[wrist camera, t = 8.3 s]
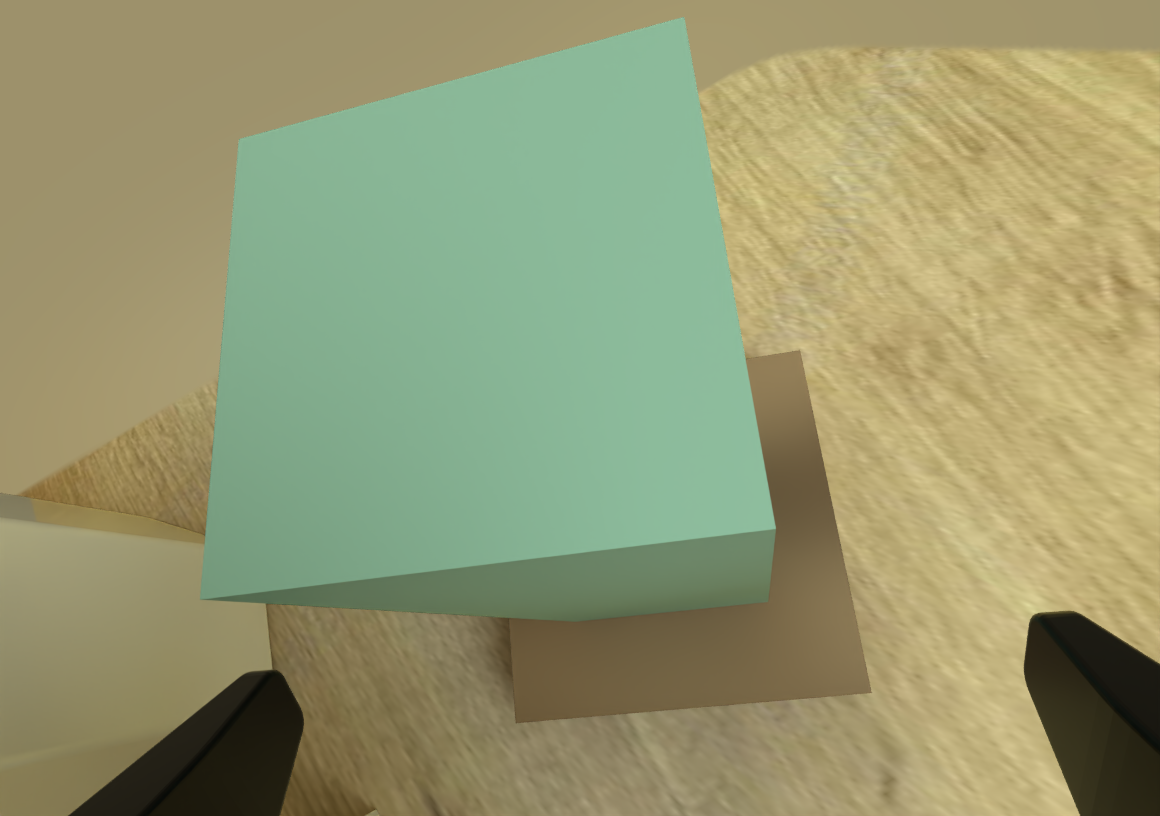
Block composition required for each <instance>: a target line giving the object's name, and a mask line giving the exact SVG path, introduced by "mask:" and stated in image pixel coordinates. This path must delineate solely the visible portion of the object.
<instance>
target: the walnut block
mask: <svg viewBox="0 0 1160 816" xmlns="http://www.w3.org/2000/svg"><path fill="white" fill-rule="evenodd" d="M746 365H747V370H748V376H749V381H750V387H751V393H752V398H753V404H754V409H755V415H756V420H757V426H758V432H759V437H760V443H761V448H762V454H763V460H764V465H765V471H766V476H767V482H768V487H769V493H770V499H771V504H772V510H773V515H774V521H775V526H776V533H775V542H774V552H773V561H772V570H771V580H770V589H769V599H768V602H763V603H753V604H743V605H733V606H724V607H714V608H704V609H694V610H685V611H675V612H665V613H655V614H646V615H636V616H626V617H616V618H607V619H597V620H587V621H577V622H571V621H554V620H537V619H520V618H509V630H510V645H511V660H512V675H513V690H514V705H515V720H516V723H521V722H533V721H545V720H557V719H569V718H580V717H592V716H604V715H616V714H628V713H639V712H651V711H663V710H675V709H687V708H698V707H710V706H722V705H734V704H746V703H757V702H769V701H781V700H793V699H805V698H816V697H828V696H840V695H852V694H864V693H872V692H871V687H870V683H869V678H868V673H867V668H866V664H865V659H864V654H863V649H862V644H861V640H860V635H859V630H858V625H857V621H856V616H855V611H854V606H853V601H852V597H851V592H850V587H849V582H848V578H847V573H846V568H845V563H844V558H843V554H842V549H841V544H840V539H839V535H838V530H837V525H836V520H835V515H834V511H833V506H832V501H831V496H830V492H829V487H828V482H827V477H826V472H825V468H824V463H823V458H822V453H821V449H820V444H819V439H818V434H817V429H816V425H815V420H814V415H813V410H812V406H811V401H810V396H809V391H808V386H807V382H806V377H805V372H804V367H803V363H802V358H801V353H800V350H799V351H792V352H786V353H780V354H774V355H768V356H762V357H755V358H749V359H746Z"/></svg>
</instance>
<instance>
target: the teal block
mask: <svg viewBox="0 0 1160 816" xmlns="http://www.w3.org/2000/svg"><path fill="white" fill-rule="evenodd" d="M775 533H776V526H775V521H774V515H773V510H772V504H771V499H770V493H769V487H768V482H767V476H766V471H765V465H764V460H763V454H762V448H761V443H760V437H759V432H758V426H757V420H756V415H755V409H754V404H753V398H752V393H751V387H750V381H749V376H748V370H747V365H746V359H745V354H744V348H743V342H742V337H741V331H740V326H739V320H738V315H737V309H736V303H735V298H734V292H733V287H732V281H731V275H730V270H729V264H728V259H727V253H726V248H725V242H724V236H723V231H722V225H721V220H720V214H719V209H718V203H717V197H716V192H715V186H714V181H713V175H712V170H711V164H710V158H709V153H708V147H707V142H706V136H705V130H704V125H703V119H702V114H701V108H700V103H699V97H698V91H697V86H696V80H695V75H694V69H693V64H692V58H691V53H690V47H689V41H688V36H687V30H686V25H685V19H684V17H682V18H679V19H675V20H672V21H668V22H664V23H660V24H657V25H653V26H649V27H646V28H642V29H639V30H635V31H631V32H627V33H624V34H620V35H617V36H613V37H610V38H606V39H602V40H598V41H595V42H591V43H588V44H584V45H581V46H576V47H573V48H570V49H566V50H562V51H558V52H555V53H551V54H548V55H544V56H540V57H537V58H533V59H530V60H525V61H522V62H518V63H515V64H511V65H507V66H504V67H500V68H497V69H493V70H489V71H485V72H482V73H478V74H475V75H471V76H467V77H464V78H460V79H456V80H453V81H449V82H445V83H442V84H438V85H435V86H431V87H427V88H424V89H420V90H416V91H413V92H409V93H406V94H402V95H398V96H394V97H391V98H387V99H384V100H380V101H377V102H372V103H369V104H366V105H362V106H358V107H355V108H351V109H347V110H343V111H340V112H336V113H333V114H329V115H325V116H322V117H318V118H314V119H311V120H307V121H303V122H300V123H296V124H292V125H289V126H285V127H281V128H278V129H274V130H270V131H267V132H264V133H260V134H256V135H252V136H249V137H245V138H241V139H239V144H238V156H237V168H236V180H235V191H234V204H233V215H232V227H231V239H230V250H229V262H228V274H227V286H226V297H225V310H224V322H223V333H222V344H221V356H220V368H219V380H218V392H217V403H216V415H215V427H214V439H213V450H212V462H211V474H210V486H209V498H208V509H207V521H206V533H205V545H204V557H203V568H202V580H201V592H200V600H214V601H231V602H248V603H265V604H282V605H299V606H316V607H333V608H350V609H367V610H384V611H401V612H418V613H435V614H452V615H469V616H486V617H503V618H520V619H537V620H554V621H571V622H577V621H587V620H597V619H607V618H616V617H626V616H636V615H646V614H655V613H665V612H675V611H685V610H694V609H704V608H714V607H724V606H733V605H743V604H753V603H763V602H768V599H769V589H770V580H771V570H772V561H773V552H774V542H775Z"/></svg>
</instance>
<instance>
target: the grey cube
mask: <svg viewBox="0 0 1160 816" xmlns="http://www.w3.org/2000/svg"><path fill="white" fill-rule="evenodd" d="M365 816H380V815H379V813H378V811H377V809H376V810H374V811H372V812H370V813H369V814H367V815H365Z"/></svg>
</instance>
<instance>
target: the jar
mask: <svg viewBox="0 0 1160 816" xmlns="http://www.w3.org/2000/svg"><path fill="white" fill-rule="evenodd" d="M204 545H205V535H203V534H200V533H196V532H193V531H190V530H187V529H184V528H180V527H177V526H174V525H171V524H167V523H164V522H161V521H158V520H155V519H151V518H148V517H143V516H137V515H131V514H125V513H119V512H113V511H107V510H101V509H95V508H89V507H83V506H77V505H71V504H65V503H58V502H52V501H46V500H40V499H34V498H28V497H22V496H16V495H10V494H3V493H0V816H68V815H69V814H70V813H72V812H73V811H74V810H75V809H77V808H78V807H79V806H80V805H82V804H83V803H84V802H85V801H87V800H88V799H89V798H90V797H92V796H93V795H94V794H95V793H96V792H98V791H99V790H100V789H101V788H103V787H104V786H105V785H106V784H108V783H109V782H110V781H111V780H113V779H114V778H115V777H116V776H118V775H119V774H120V773H121V772H122V771H124V770H125V769H126V768H127V767H129V766H130V765H131V764H132V763H134V762H135V761H136V760H137V759H139V758H140V757H141V756H142V755H144V754H145V753H146V752H147V751H148V750H150V749H151V748H152V747H153V746H155V745H156V744H157V743H158V742H160V741H161V740H162V739H163V738H165V737H166V736H167V735H168V734H170V733H171V732H172V731H173V730H174V729H176V728H177V727H178V726H179V725H181V724H182V723H183V722H184V721H186V720H187V719H188V718H189V717H191V716H192V715H193V714H194V713H195V712H197V711H198V710H199V709H200V708H202V707H203V706H204V705H205V704H207V703H208V702H209V701H210V700H212V699H213V698H214V697H215V696H217V695H218V694H219V693H220V692H221V691H223V690H224V689H225V688H226V687H228V686H229V685H230V684H231V683H233V682H234V681H235V680H236V679H238V678H239V677H240V676H241V675H243V674H245V673H247V672H250V671H260V670H273V668H272V658H271V648H270V639H269V629H268V619H267V609H266V604H265V603H248V602H231V601H214V600H200V592H201V580H202V568H203V557H204Z"/></svg>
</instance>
